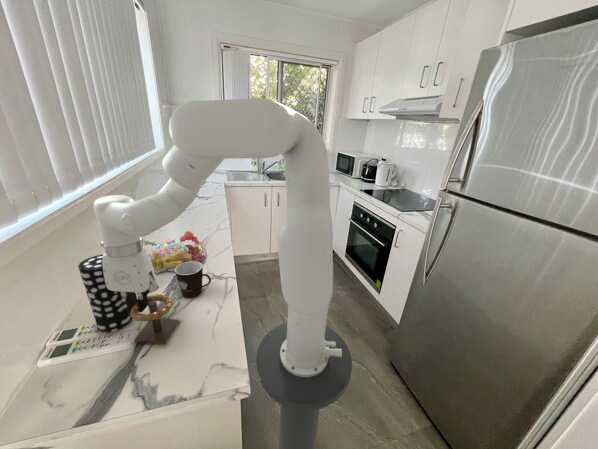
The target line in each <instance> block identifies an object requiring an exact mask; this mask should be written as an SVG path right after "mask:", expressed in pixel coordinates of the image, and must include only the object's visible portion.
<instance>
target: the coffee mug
mask: <svg viewBox="0 0 598 449" xmlns="http://www.w3.org/2000/svg"><path fill="white" fill-rule="evenodd" d="M200 262H201V261H200ZM200 262H197V261H189V262H184V263H182V264H180V265H178V266H177V267H176V268H175V271H174V273H175V276H176V279H177V284H178V286H179V289H180V291H181V296H182V297H183V298H184V299H194V298H197V297H198V296H200V295H201V294H202V292H203V288H205V287H208V286H209V285H210V284H211V282H212V278H211V276H210V275H209V274H207V273H204V271H203V270H204V265H203V263H202V262H201V263H200ZM203 277H207V279H208V283H206V284H203Z"/></svg>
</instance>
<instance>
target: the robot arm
mask: <svg viewBox="0 0 598 449" xmlns="http://www.w3.org/2000/svg"><path fill="white" fill-rule="evenodd" d="M168 132H169V136H170V138H171V139H170V140H171V141H172V143H173V145H172V146H171V148H170V149H169V150H168V152H167V153H166V154H165V156H163V158H162V162H161V166H162V169H163V171H164V173H165V174H166V175H167V177H169V179H168V180H167V182H166V183H165V184H164V185H163V186H162V188H161V189H160V190H159V191H158V192H157V193H155V194H152V195H149V196H146V197H143V198H141V199H137V200H134V199H133V198H132V197H131V196H128V195H123V194H113V195H104V196H102V197H99V198H97V199H95V200H94V201H93V211H94V214H95V218H96V222H97V226H98V229H99V233H100V238H101V242H100V247H102V248H104V253H103V263H102V264H103V274H104V279H105V283H106V287H107V288H108V289H109V290H111V291H117V292H118V293H119V294H121V297H122V298H123V299H125V301H126V305H127V309H128V312H131V308H132V307H133V305H134V304H135V303H136V302H137V306H138V310H139V312H140V313H143V312H144V311H145V310H146V308H147V307H148V298H147V296H148V295H149V294H150V293H154V292H157V290H158V289H159V288H160V286H159V285H158V283H157V281H156V273H154V269H153V265H152V262H151V259H150V257H149V255H150V254H149V255H148V253H149V251H148V250H147V249H146V248H145V247H144V243H143V237H147V236H149V235H151V234H152V233H154V232H156V231H158V230H159V229H161V228H164V227H165V226H166V225H168V224H170V223H172V222H174V221H176V220H177V219H178V218H180V216H181V215H182V214H183V213H184V212H185V211H186V210H187V209H188V208H189V206H190V205H191V204H192V203H193V202H194V201H195V200H196V198H197V196H198V194H199V192H200V190H201V187H202V185H204V183H205V182H206V181H207V180H208V178H209V177H210V176H211V175H212V174H213V173H214V172H215V171H216V170H217V168H218V167H219V166H220V165H221V164H222V162H224V160H225V159H270V158H275V157H278V156H280V155H281V156H282V158H283V161H284V167H285V172H284V177H285V188H286V213H285V215H284V217H283V219H282V221H281V222H280V224H279V228H278V233H277V255H278V256H277V257H278V266H279V267H278V268H279V276H280V287H281V293H282V296H283V299H284V301H285V302H286V304H287V339H286V340H285V341H284V342H283V344H282V346H281V349H280V359H281V362H282V364H283V366H284V367H285V368H286V370H288V371H289V372H290V373H292V374H294V375H296V376H299V377H312V376H315V375H317V374H319V373H321V372H322V371H323V370H324V369H325V367H326V365H327V363H328V358H329V356H334V357H342V349H329V347H336V342H327V341H326V340H325V330H326V326H327V321H328V313H329V307H330V305H329V304H330V303H331V301H332V298H333V294H334V245H333V244H334V241H333V240H334V236H333V235H334V234H333V232H334V231H333V230H334V228H333V227H334V226H333V225H334V224H333V218H332V212H331V188H330V166H329V165H330V164H329V156H328V150H327V146H326V143H325V140H324V139H323V135H322V134H321V132H320V131H319V129H318V128H317V127H316V125H315V124H314V123H313V122H312V121H311V120H310V119H308V118H307V117H306V116H305V115H303V114H301V113H300V112H298V111H296V110H294V109H292V108H290V107H288V106H287V105H284V104H282V103H280V102H278V101H276V100H272V99H269V98H259V97H258V98H257V97H256V98H240V99H239V98H235V99H213V100H211V99H209V100H208V99H207V100H202V99H201V100H189V101H186V102H183V103H181V104H180V105H178V106H177V107H176V108H175V109H174V111H173V112H172V114H171V116H170V118H169V123H168ZM147 251H148V252H147Z"/></svg>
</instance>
